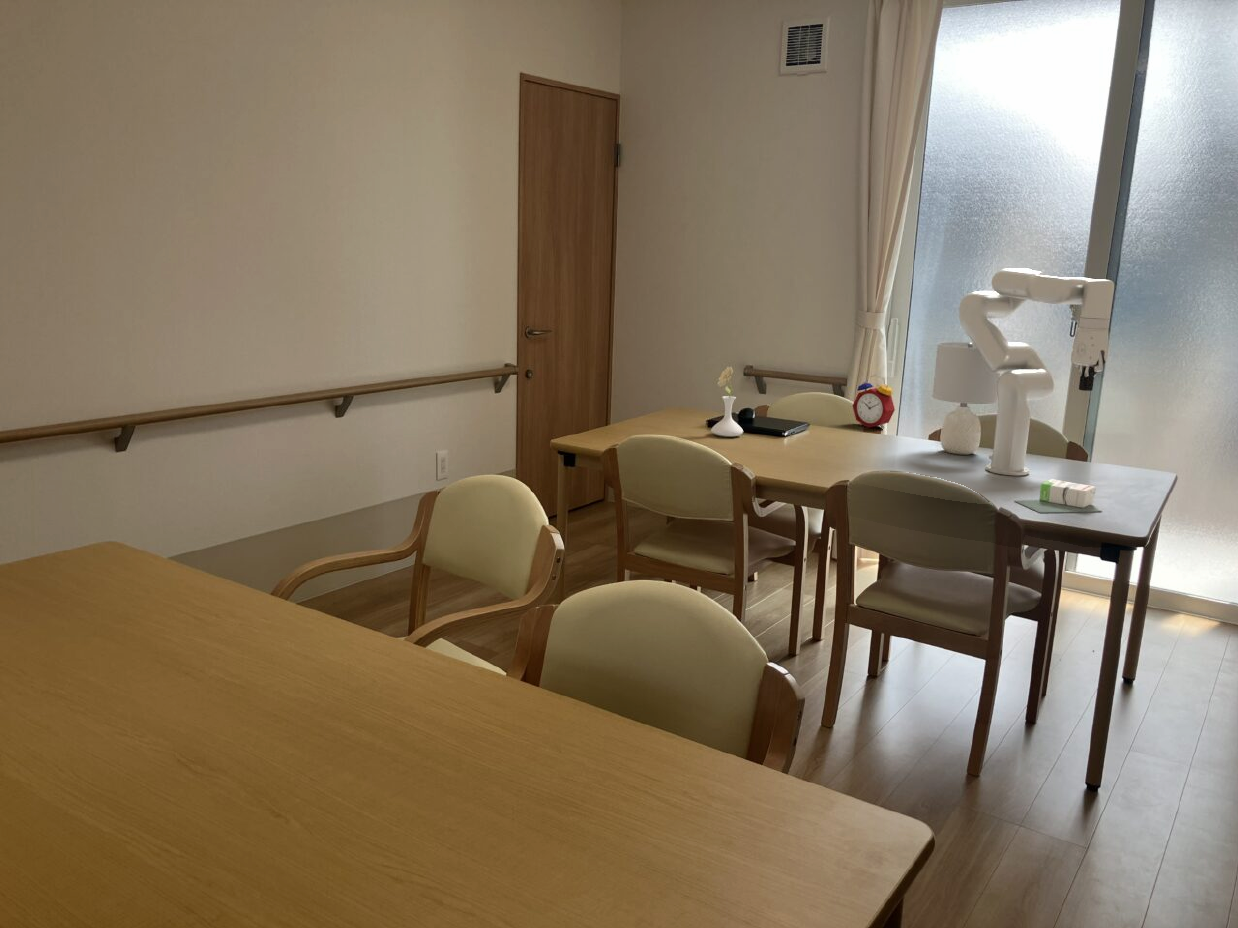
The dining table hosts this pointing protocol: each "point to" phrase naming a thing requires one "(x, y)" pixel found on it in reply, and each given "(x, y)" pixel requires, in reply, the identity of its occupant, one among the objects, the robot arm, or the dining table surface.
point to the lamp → (962, 393)
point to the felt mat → (1053, 507)
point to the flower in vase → (727, 410)
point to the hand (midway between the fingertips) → (1085, 390)
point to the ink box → (1067, 493)
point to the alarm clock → (873, 405)
